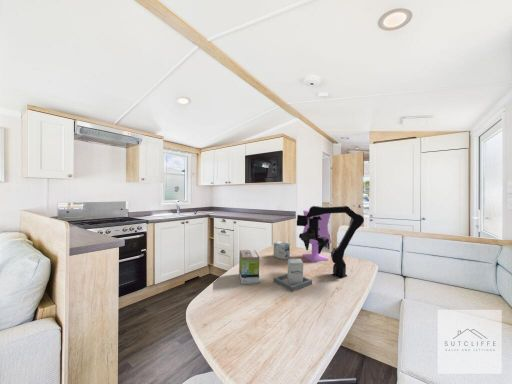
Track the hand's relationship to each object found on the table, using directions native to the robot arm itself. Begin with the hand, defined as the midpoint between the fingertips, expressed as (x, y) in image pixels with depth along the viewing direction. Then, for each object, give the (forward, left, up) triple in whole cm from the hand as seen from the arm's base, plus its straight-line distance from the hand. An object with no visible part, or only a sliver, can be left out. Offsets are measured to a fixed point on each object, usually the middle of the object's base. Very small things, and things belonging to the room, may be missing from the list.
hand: (313, 251), depth 140 cm
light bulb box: (+34, -6, -13) cm, 37 cm away
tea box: (+16, +37, -13) cm, 42 cm away
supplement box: (-4, +20, -13) cm, 24 cm away
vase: (+18, -25, -13) cm, 34 cm away
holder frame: (-3, +21, -13) cm, 25 cm away
